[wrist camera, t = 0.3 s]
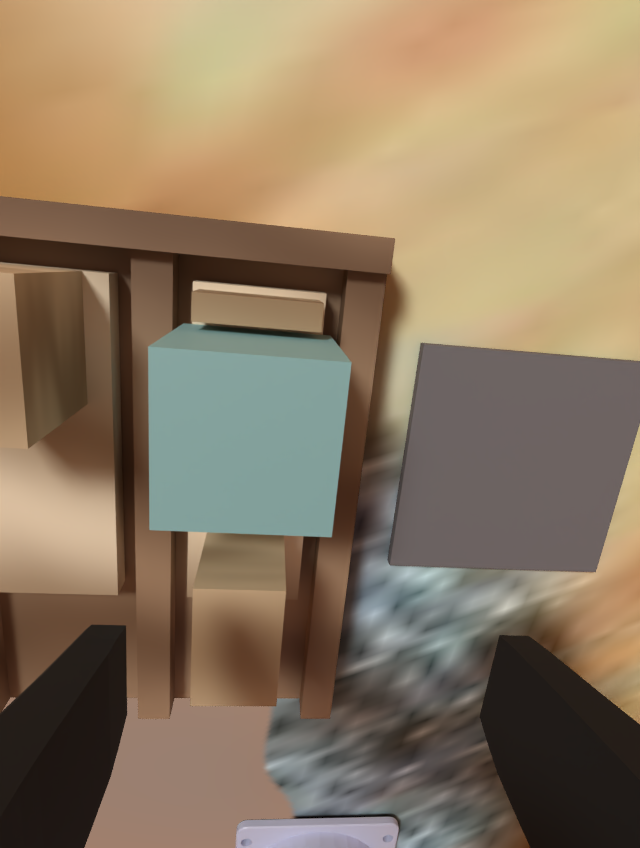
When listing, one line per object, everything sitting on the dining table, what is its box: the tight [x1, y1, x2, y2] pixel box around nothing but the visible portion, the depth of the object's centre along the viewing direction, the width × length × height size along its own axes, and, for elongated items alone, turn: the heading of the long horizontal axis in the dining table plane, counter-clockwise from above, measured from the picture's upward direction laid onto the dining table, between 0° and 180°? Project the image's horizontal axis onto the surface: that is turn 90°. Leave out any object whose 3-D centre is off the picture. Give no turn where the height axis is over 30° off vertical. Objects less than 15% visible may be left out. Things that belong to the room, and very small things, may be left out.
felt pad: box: [388, 343, 640, 572], centre depth 20 cm, size 9×9×1 cm
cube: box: [148, 323, 352, 537], centre depth 14 cm, size 4×4×4 cm
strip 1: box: [0, 262, 125, 595], centre depth 15 cm, size 11×4×5 cm, turn 175°
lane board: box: [0, 196, 395, 719], centre depth 18 cm, size 18×14×2 cm
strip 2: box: [187, 280, 327, 706], centre depth 15 cm, size 12×4×5 cm, turn 175°
